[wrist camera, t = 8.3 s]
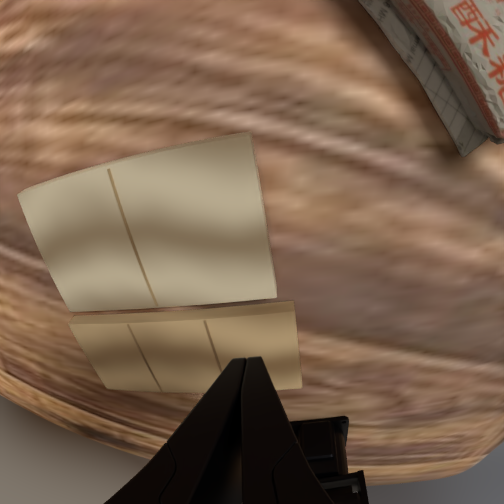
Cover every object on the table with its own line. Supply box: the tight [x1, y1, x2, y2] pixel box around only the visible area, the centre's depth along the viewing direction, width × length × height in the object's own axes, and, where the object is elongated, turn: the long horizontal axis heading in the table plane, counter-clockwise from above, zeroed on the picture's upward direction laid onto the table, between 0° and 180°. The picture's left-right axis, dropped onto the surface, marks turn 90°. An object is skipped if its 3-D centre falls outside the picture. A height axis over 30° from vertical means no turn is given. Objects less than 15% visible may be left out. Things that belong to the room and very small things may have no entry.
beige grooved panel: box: [17, 132, 277, 312], centre depth 19 cm, size 10×16×1 cm, turn 99°
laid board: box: [68, 300, 302, 393], centre depth 24 cm, size 8×18×1 cm, turn 99°
